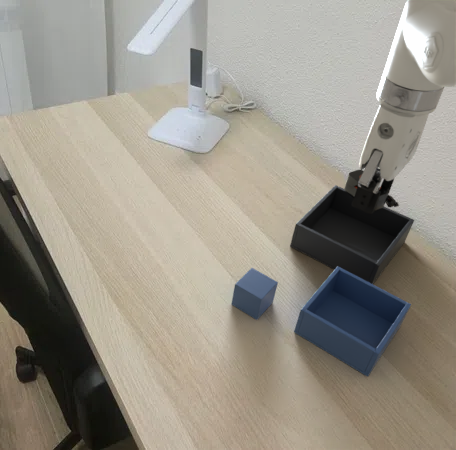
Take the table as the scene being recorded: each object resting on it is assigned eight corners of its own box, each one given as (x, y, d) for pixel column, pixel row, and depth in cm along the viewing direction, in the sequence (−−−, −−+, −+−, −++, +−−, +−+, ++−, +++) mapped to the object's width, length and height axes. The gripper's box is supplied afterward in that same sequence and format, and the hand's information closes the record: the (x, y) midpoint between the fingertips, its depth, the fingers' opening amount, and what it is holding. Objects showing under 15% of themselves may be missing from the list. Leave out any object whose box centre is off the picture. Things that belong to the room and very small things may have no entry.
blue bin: (400, 326, 80) (411, 304, 77) (367, 377, 73) (378, 354, 70) (329, 288, 85) (337, 265, 82) (293, 332, 79) (300, 309, 75)
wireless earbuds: (374, 217, 81) (381, 200, 79) (341, 190, 86) (347, 173, 83) (397, 208, 82) (404, 191, 80) (364, 182, 87) (370, 165, 85)
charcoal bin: (404, 242, 94) (414, 219, 91) (370, 288, 86) (379, 265, 82) (328, 206, 101) (335, 184, 97) (289, 246, 92) (295, 223, 89)
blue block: (272, 302, 83) (278, 282, 80) (256, 320, 80) (261, 299, 77) (247, 287, 85) (251, 267, 82) (231, 304, 82) (234, 283, 79)
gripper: (413, 126, 65) (369, 240, 76) (459, 78, 74) (414, 186, 86) (354, 104, 68) (320, 217, 80) (405, 61, 78) (369, 167, 90)
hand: (369, 200), depth 83 cm, fingers closed on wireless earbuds, 4 cm apart
